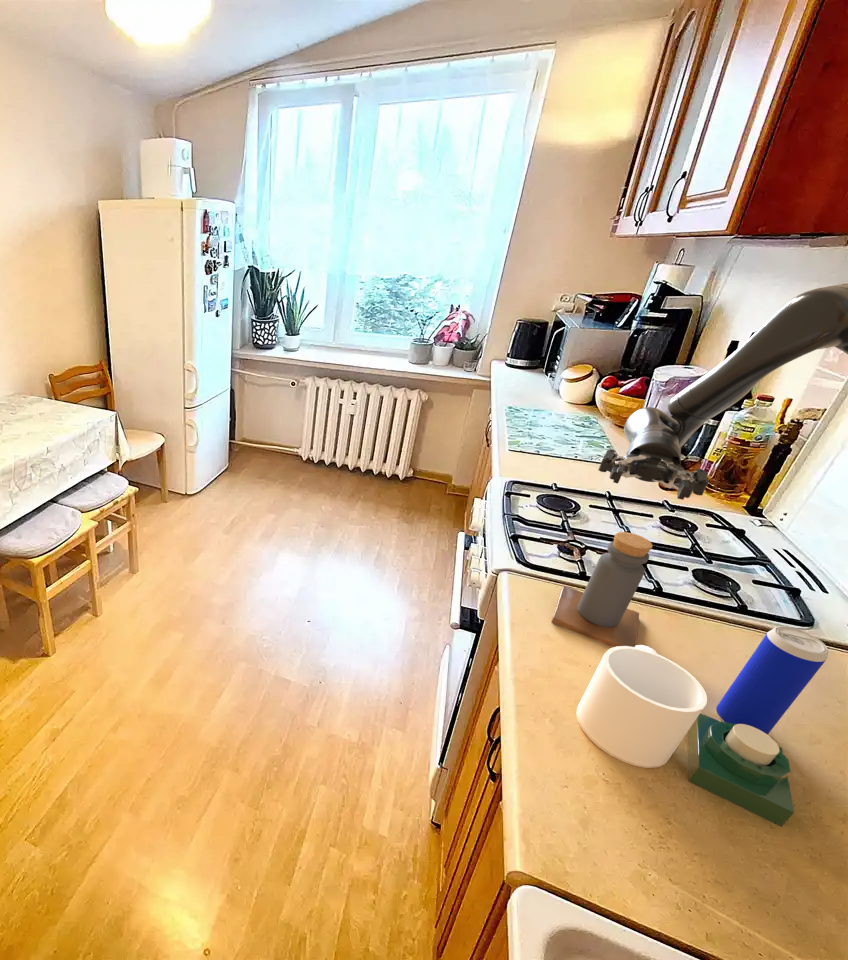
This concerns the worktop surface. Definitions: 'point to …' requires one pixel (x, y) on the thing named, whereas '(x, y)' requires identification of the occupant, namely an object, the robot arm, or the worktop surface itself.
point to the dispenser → (738, 772)
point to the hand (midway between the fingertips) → (649, 485)
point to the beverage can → (772, 678)
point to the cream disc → (752, 744)
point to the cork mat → (574, 621)
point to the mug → (639, 705)
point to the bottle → (615, 579)
